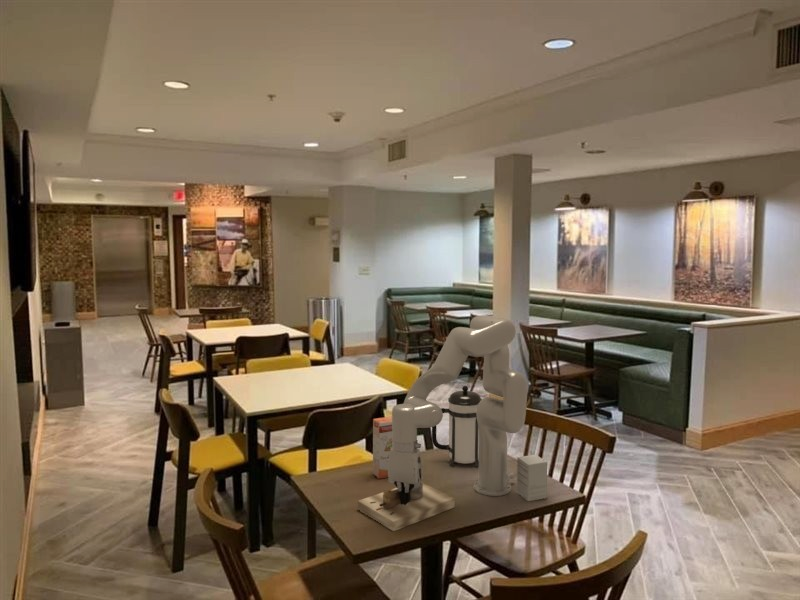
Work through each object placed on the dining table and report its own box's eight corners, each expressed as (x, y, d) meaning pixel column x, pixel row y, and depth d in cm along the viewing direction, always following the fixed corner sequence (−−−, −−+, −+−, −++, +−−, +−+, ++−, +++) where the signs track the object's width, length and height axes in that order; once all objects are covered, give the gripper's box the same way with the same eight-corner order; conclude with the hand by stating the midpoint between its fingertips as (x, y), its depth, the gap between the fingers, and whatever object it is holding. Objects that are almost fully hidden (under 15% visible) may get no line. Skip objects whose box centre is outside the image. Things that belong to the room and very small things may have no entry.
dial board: (417, 489, 202) (417, 480, 202) (454, 507, 188) (454, 497, 188) (357, 509, 186) (357, 500, 186) (393, 531, 172) (393, 520, 172)
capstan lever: (414, 490, 193) (414, 476, 192) (425, 495, 189) (425, 480, 189) (374, 507, 181) (374, 491, 180) (385, 512, 177) (385, 496, 177)
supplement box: (535, 489, 202) (535, 454, 200) (547, 498, 195) (548, 461, 193) (516, 492, 199) (516, 456, 198) (527, 501, 192) (528, 464, 191)
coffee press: (463, 451, 238) (464, 378, 235) (492, 463, 225) (493, 386, 222) (430, 461, 228) (430, 385, 225) (458, 474, 215) (458, 393, 212)
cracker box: (379, 480, 210) (379, 422, 208) (372, 474, 215) (372, 418, 213) (414, 473, 216) (414, 417, 214) (406, 467, 222) (406, 413, 219)
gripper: (431, 444, 180) (432, 502, 182) (387, 438, 186) (388, 494, 188) (422, 452, 173) (422, 512, 175) (377, 445, 179) (377, 503, 181)
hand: (405, 502), depth 182 cm, fingers closed
